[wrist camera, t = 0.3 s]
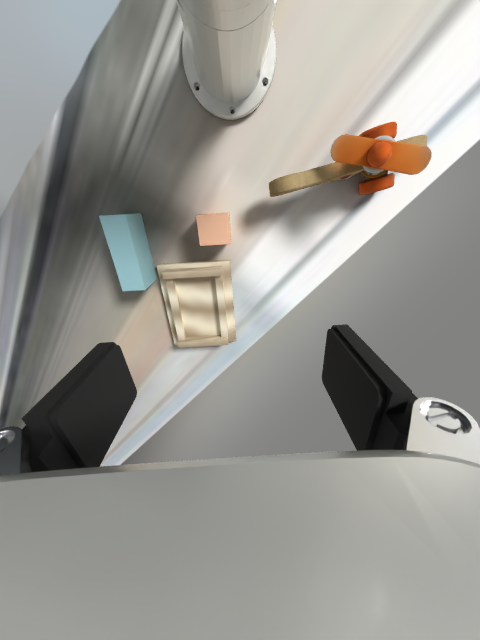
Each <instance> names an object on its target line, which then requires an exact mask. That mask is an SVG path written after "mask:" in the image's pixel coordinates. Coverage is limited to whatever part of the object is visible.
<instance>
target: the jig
mask: <svg viewBox="0 0 480 640" xmlns="http://www.w3.org/2000/svg"><path fill="white" fill-rule="evenodd" d="M157 270H158V275H159V279H160V283H161V288H162V292H163V297H164V301H165V305H166V310H167V314H168V318H169V323H170V327H171V331H172V336H173V340H174V345H178V348H183V347H200V346H218V345H228V342H232V341H236V332H235V319H234V306H233V292H232V279H231V266H230V260H219V261H202V262H186V263H169V264H158V265H157Z"/></svg>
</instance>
